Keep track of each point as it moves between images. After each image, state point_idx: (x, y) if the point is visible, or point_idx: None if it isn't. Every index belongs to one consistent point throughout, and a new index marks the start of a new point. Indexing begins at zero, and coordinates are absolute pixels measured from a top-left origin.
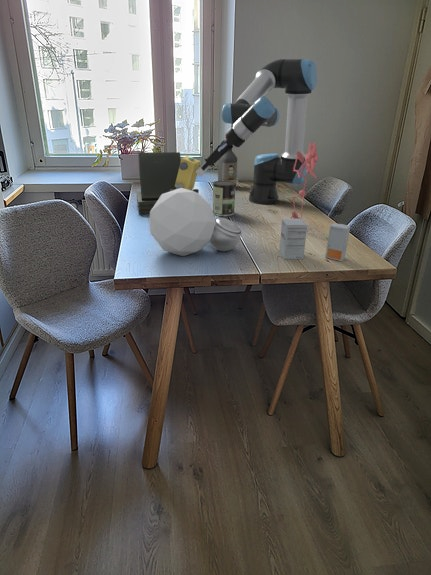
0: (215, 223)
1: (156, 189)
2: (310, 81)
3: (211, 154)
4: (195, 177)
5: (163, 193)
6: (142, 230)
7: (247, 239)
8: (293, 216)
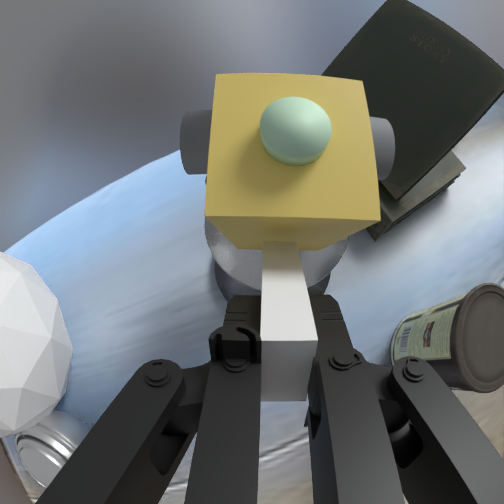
0: (17, 436)
1: None
2: None
3: (52, 487)
4: (317, 242)
5: None
6: (153, 194)
7: (184, 499)
8: None
